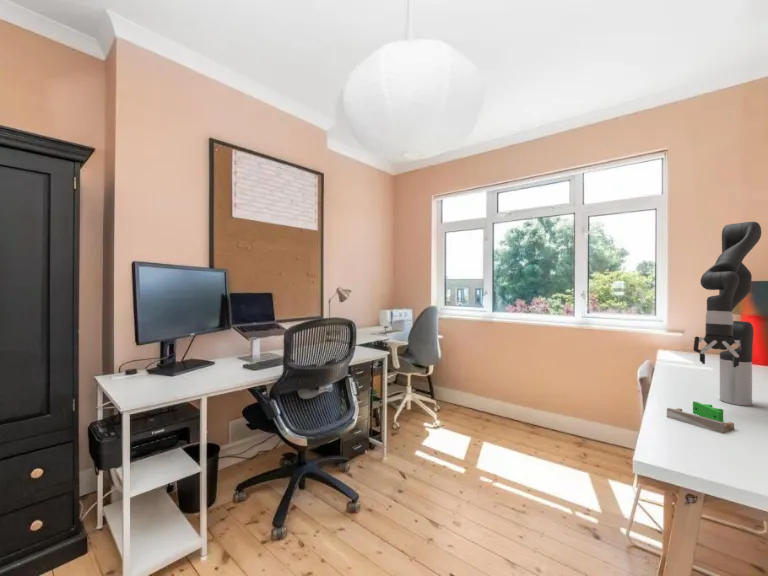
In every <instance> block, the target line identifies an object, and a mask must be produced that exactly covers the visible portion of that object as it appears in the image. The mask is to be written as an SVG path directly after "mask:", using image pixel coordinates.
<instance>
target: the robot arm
mask: <svg viewBox="0 0 768 576" xmlns="http://www.w3.org/2000/svg"><path fill="white" fill-rule="evenodd" d="M761 236H762V227H761V225H760V223H759V222H757V221H747V222H745V221H744V222H738V223H737V222H736V223H730V224H725V225H724V226H723V228H722V231H721V254H720V255H719V256H718V257H717V260H715V263H714V264H713V265H712V266H710V268H708V269H707V270H706V271H705V272H704V273H703V274H702V275H701V278H700V285H701V287H702V288H703V289H705V290H709V291H718V290H719V291H718V292H719V293H718V294H717V295H711V296H708V297H707V299H706V312H705V313H706V314H705V336H704V337H700V336H695V337H694V341H693V348H692V349H693V351H694V352H696V353H698V354H699V362H700V363H702V364H703V365H705V364H706V354H705V353H707V351H709V350H710V349H713V350H721V351H720V352H719V400H720V401H721V402H725V403H727V404H731V405H737V406H744V407H745V406H747V407H748V406H752V405H753V346H754V333H755V332H754V331H755V330H754V326H753V324H752V323H751V322H749V321H743V320H742V321H739V320H734V317H733V316H734V315H733V310H734V309H735V308H736V307H737V306H738V304H740V303H741V302H742V301H743V300H744V299H745V298H746V297H747V296H748V295H749V294H750V292H751V289H752V278H753V277H752V273H751V271H750V269H748V268H747V266H746V265H745V264H744V263H743V261H744V259H745V257H746V256H747V255H748V254H749V253H750V252H751V251H752V249H753V248H755V246H756V245H757V244H758V243H759V241H760V239H761ZM703 341H704V343H706V345H705V346H704V347H702V348H701V349H699V345H700V344H699V343H702V342H703ZM734 344H736V345H737V346H738V347H737V348H732V345H734Z"/></svg>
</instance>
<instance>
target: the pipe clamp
mask: <svg viewBox="0 0 768 576" xmlns="http://www.w3.org/2000/svg"><path fill="white" fill-rule="evenodd" d="M692 414H694V415H696V414H697V416H698V415H699V416H701V417H705V418H708V419H712V420H716V421H719V422H723V423H724V409H722V408H717V407H714V406H713V404H705V403H704V404H703V403H700V402H698V401H692Z"/></svg>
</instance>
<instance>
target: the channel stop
mask: <svg viewBox="0 0 768 576" xmlns="http://www.w3.org/2000/svg"><path fill="white" fill-rule="evenodd" d="M666 417H667V418H669V419H673V420H676V421H680V422H683V423H687V424H691V425H693V424H694V426H696V425H697V427H700V426H701V427H700V428H703V427H705V428H704V429H707V428H708V429H707V430H710V429H711V431H714V430H715V431H714V432H717V433H720V432H721V433H720V434H723V433H726V432H729V431H732V430H734V429H735V422H733V421H729V422H724V421H723V422H719V421H716V420H712V419H708V418H705V417H701V416H698V415H696V414H694V413H690V412H687V411H683V408H678V407H677V408H672V407H667V408H666Z"/></svg>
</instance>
